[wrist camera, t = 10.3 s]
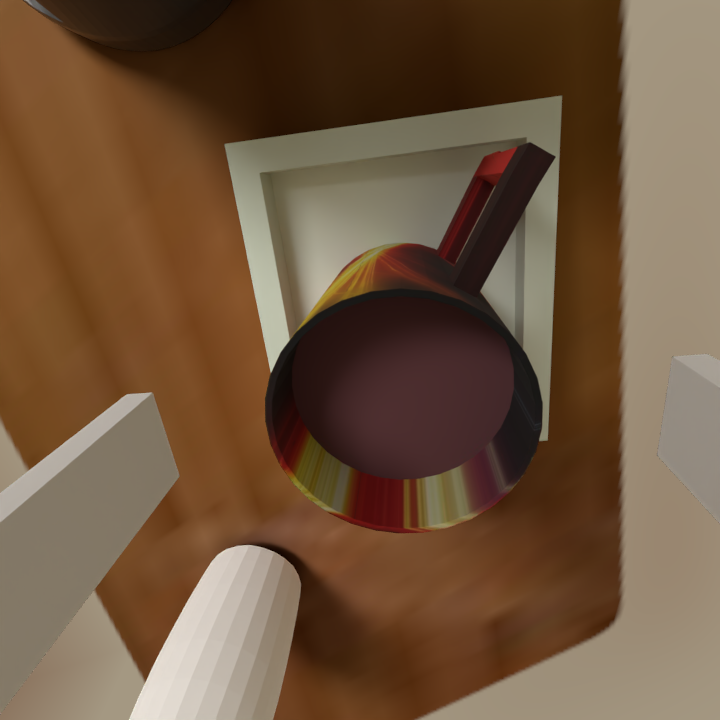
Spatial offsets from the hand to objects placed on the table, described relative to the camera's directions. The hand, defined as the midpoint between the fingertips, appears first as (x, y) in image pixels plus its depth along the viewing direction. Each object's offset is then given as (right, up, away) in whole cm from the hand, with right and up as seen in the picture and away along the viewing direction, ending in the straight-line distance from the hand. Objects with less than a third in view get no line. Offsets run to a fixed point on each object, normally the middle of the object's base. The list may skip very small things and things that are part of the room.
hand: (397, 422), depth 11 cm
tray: (+2, +6, +16) cm, 17 cm away
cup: (-10, -16, +26) cm, 32 cm away
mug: (+2, +6, +14) cm, 16 cm away
